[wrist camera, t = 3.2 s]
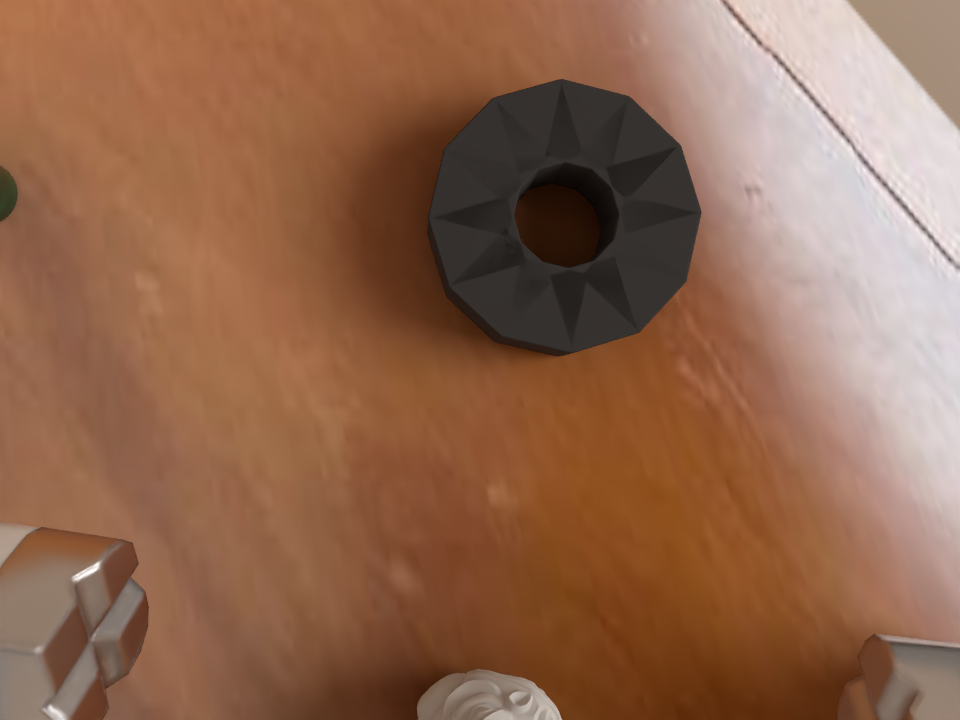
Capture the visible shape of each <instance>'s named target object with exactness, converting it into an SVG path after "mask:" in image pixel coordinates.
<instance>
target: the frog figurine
mask: <svg viewBox="0 0 960 720" xmlns="http://www.w3.org/2000/svg"><path fill="white" fill-rule="evenodd" d="M417 715H418V720H562V719H561V716H560V714H559V711H558V709H557V707H556V706H555V704H554V703H553V702H552V701H551V700H550V698H549V697H548V696H546V695H545V692H544V691H543V690H542V689H539V688H538V687H537V686H536V684H535V683H533V682H532V681H529V680H527V679H524V678H521V677H515V676H512V675H504V674H499V673H496V672H493V671H490V670H480V669H476V670H471V671H468V672H467V673H466V674H465V673H462V674H461V673H454V674H450V675H448V676H445V677H444V678H442V679H440V680H439V681H438V682H436V683H435V684H434V685H432V686H431V687H430V688H429V689H428V690H427V691H426V692H425V693H424V694H423V695H422V696H421V698H420V700H419V702H418V705H417Z"/></svg>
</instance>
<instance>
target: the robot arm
mask: <svg viewBox="0 0 960 720" xmlns="http://www.w3.org/2000/svg"><path fill="white" fill-rule="evenodd" d="M138 564H139V563H138V560H137V556H136V553H135V549H134V546H133V543H132V542H129V541H125V540H122V539H116V538H109V537H103V536H96V535H90V534H83V533H77V532H70V531H64V530H57V529H51V528H44V527H34V526H27V525H20V524H14V523H7V522H0V720H103V718H104V717H105V715H106V713H107V711H108V710H109V705H108V699H107V694H106V688H108V687H109V686H111V685H112V684H114V683H115V682H117V681H118V680H120V679H121V678H123V677H124V676H126V675H127V674H129V672H130V670H131V668H132V667H133V665H134V663H135V661H136V659H137V657H138V655H139V654H140V652H141V648H142V645H143V641H144V638H145V634H146V631H147V627H148V609H149V606H148V602H147V597H146V592H145V591H144V590H143V589H142V588H141V587H140V586H139V585H138V584H137V583H136V582H135V581H134V580H133V579H132V578H131V575H132V574H133V572H134V570H135V569H136V567H137V566H138ZM858 659H859V663H860V666H861V669H862V673H863V674H862V675H860V676H858V677H856V678H855V679H853V680H851V681H849V682H848V683H846V684H845V687H844V689H843V692H842V694H841V697H840V700H839V702H838V707H837V718H836V720H960V644H958V643H949V642H940V641H932V640H923V639H914V638H906V637H897V636H888V635H880V634H873V635H872V636H870V637H869V638H868V639H867V640H865V642H864V644H863V646H862V648H861V650H860V653H859V655H858Z"/></svg>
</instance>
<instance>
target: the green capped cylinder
mask: <svg viewBox="0 0 960 720" xmlns="http://www.w3.org/2000/svg"><path fill="white" fill-rule="evenodd" d="M16 201H17V187H16V184H15V181H14V179H13V177H12V176H11V174H10V173H9V172H8V171H7V170H6V169H4V168H3V167H1V166H0V221H2V220H4V219H5V218H6V217H7V216H8V215H9V214H10V213H11V212H12V210H13V209H14V207H15V204H16Z"/></svg>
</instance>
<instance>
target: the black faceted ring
mask: <svg viewBox="0 0 960 720" xmlns="http://www.w3.org/2000/svg"><path fill="white" fill-rule="evenodd" d="M550 183H554V184H558V185H562V186H566V187H570V188H574V189H576V190H577V191H579V192H580V193H581V194H582V195H583V196H584V197H585V198H586V199H587V200H588V201H589V202H590V203H591V204H592V205H593V206H594V209H595V212H596V215H597V218H598V222H599V225H600V228H601V233H600V237H599V241H598V246H597V250H596V254H595V255H594V256H593V257H592V258H591V259H590V260H589V261H588V262H586V263H583V264H580V265H576V266H573V267H569V268H567V267H563V266H558V265H554V264H550V263H546V262H542V261H541V260H540V259H539V258H538V257H537V256H536V255H535V254H534V253H532V252H531V251H530V250H529V249H528V248H527V247H526V246H525V245H524V244H523V243H522V242H521V238H520V235H519V232H518V228H517V225H516V222H515V219H514V213H515V209H516V205H517V201H518V200H519V199H520V198H521V197H522V196H523V195H524V194H525V193H526V192H527V191H528V190H529V189H532V188H536V187H539V186H543V185H546V184H550ZM700 217H701V209H700V206H699V202H698V199H697V196H696V193H695V189H694V186H693V183H692V180H691V176H690V173H689V170H688V167H687V164H686V160H685V157H684V154H683V151H682V147H681V145H680V144H679V143H678V142H677V141H676V140H675V139H674V138H673V137H672V136H670V135H669V134H668V133H667V132H666V131H665V130H664V129H663V128H662V127H661V126H660V125H659V124H658V123H657V122H656V121H655V120H654V119H653V118H652V117H651V116H650V115H648V114H647V113H646V112H645V111H644V110H643V109H642V108H641V107H640V106H639V105H638V104H637V103H636V102H635V101H634V100H633V99H632V98H631V97H629V96H626V95H622V94H618V93H614V92H610V91H607V90H603V89H599V88H595V87H591V86H587V85H583V84H579V83H575V82H571V81H568V80H564V79H559V80H555V81H552V82H548V83H545V84H541V85H537V86H534V87H530V88H527V89H523V90H519V91H516V92H512V93H509V94H505V95H502V96H498V97H495V98H492V99H491V100H490V101H489V102H488V104H487V105H486V106H485V107H484V108H483V109H482V110H481V111H480V112H479V113H478V114H477V115H476V116H475V117H474V118H473V119H472V120H471V121H470V122H469V123H468V124H467V125H466V126H465V127H464V128H463V129H462V130H461V132H460V133H459V134H458V135H457V136H456V137H455V138H454V139H453V140H452V141H451V142H450V143H449V144H448V145H447V146H446V147H445V149H444V152H443V156H442V160H441V164H440V168H439V173H438V177H437V181H436V185H435V189H434V194H433V198H432V202H431V206H430V211H429V215H428V231H427V233H428V237H429V241H430V244H431V247H432V251H433V254H434V257H435V261H436V264H437V267H438V270H439V274H440V277H441V280H442V284H443V287H444V290H445V293H446V296H447V297H448V298H449V299H450V300H451V301H452V302H453V303H454V304H455V305H456V306H457V307H458V308H459V309H460V310H461V311H462V312H463V313H465V314H466V315H467V316H468V317H469V318H470V319H471V320H472V321H473V322H474V323H475V324H476V325H477V326H478V327H479V328H480V329H482V330H483V331H484V332H485V333H486V334H487V335H488V336H489V337H490V338H491V339H492V340H493V341H495V342H498V343H503V344H507V345H511V346H515V347H519V348H524V349H528V350H532V351H536V352H541V353H545V354H549V355H553V356H563V355H567V354H571V353H574V352H578V351H581V350H584V349H587V348H591V347H594V346H597V345H601V344H604V343H607V342H610V341H614V340H617V339H620V338H624V337H627V336H630V335H633V334H637V333H639V332H640V331H641V330H642V329H643V328H644V327H645V326H646V325H647V324H648V323H649V322H650V320H651V319H652V318H653V317H654V316H655V315H656V314H657V313H658V312H659V311H660V310H661V308H662V307H663V306H664V305H665V304H666V303H667V302H668V301H669V300H670V299H671V298H672V297H673V295H674V294H675V293H676V292H677V291H678V290H679V289H680V288H681V287H682V286H683V285H684V283H685V282H686V281H687V276H688V271H689V267H690V262H691V258H692V253H693V249H694V244H695V240H696V235H697V231H698V226H699V221H700Z"/></svg>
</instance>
